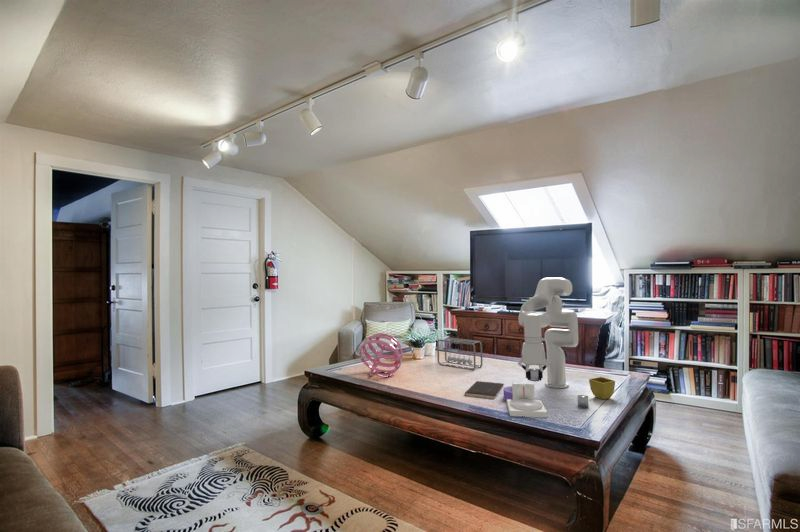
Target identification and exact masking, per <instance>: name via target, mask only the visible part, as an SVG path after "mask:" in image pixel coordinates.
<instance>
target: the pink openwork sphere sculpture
mask: <svg viewBox="0 0 800 532" xmlns="http://www.w3.org/2000/svg"><path fill="white" fill-rule="evenodd" d="M373 338H375V339H373ZM380 339H385V340H387V341H390V343H389V342H386V341H384V340H380ZM392 343H393V344H392ZM373 344H376V345H377V346H378V348H379V349H380V351H378V350H376V349H375V347H374V346H373ZM366 345H368V349H370V351H371V352H372V353H373V354H374V355H375V356H376V358H374V357H372V356H371V355H370V354H369V352H368V351H367V349H366ZM397 348H398V349H399V350H398V349H397ZM384 351H386V352H393V354H390V355H388V354H384V353H383V352H384ZM362 352H363V354H364V356H365V357H366V358H367V359H368V360H369V361H370V362H371V363H372V365H371V364H370V363H369V362H367V361H366V360H365V358H364V356H363V354H362ZM358 353H359V358H360V361H362V363H363V364H364V366H366V367H368V369H369V370H370V372H369V376H370V377H373V376H374V374H375V372H376V373H377V377H381V378H389V377H391V376H393V375H394V374H395V373H396V372H397V371H398V370H399V369H400V368H401V366H402V361H403V358H404V352H403V350H402V346H401V344H400V341H398V339H396V338H395V337H394V336H393V335H391V334H388V333H383V332H382V333H381V332H379V333H374V334H372V335H371V336H368V337H367V338H365V339H364V341H363V343H362V344H361V346H360V347H359V352H358ZM381 359H385V360H394V362H392V363H391V362H389V363H386V362H383V361H381ZM378 366H380V367H385V368H393V369H390V370H389V369H388V370H385V369H384V370H383V369H380V368H377V367H378ZM379 372H387V373H386V374H388V375H382V374H379ZM373 373H374V374H373ZM388 376H389V377H388Z"/></svg>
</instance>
